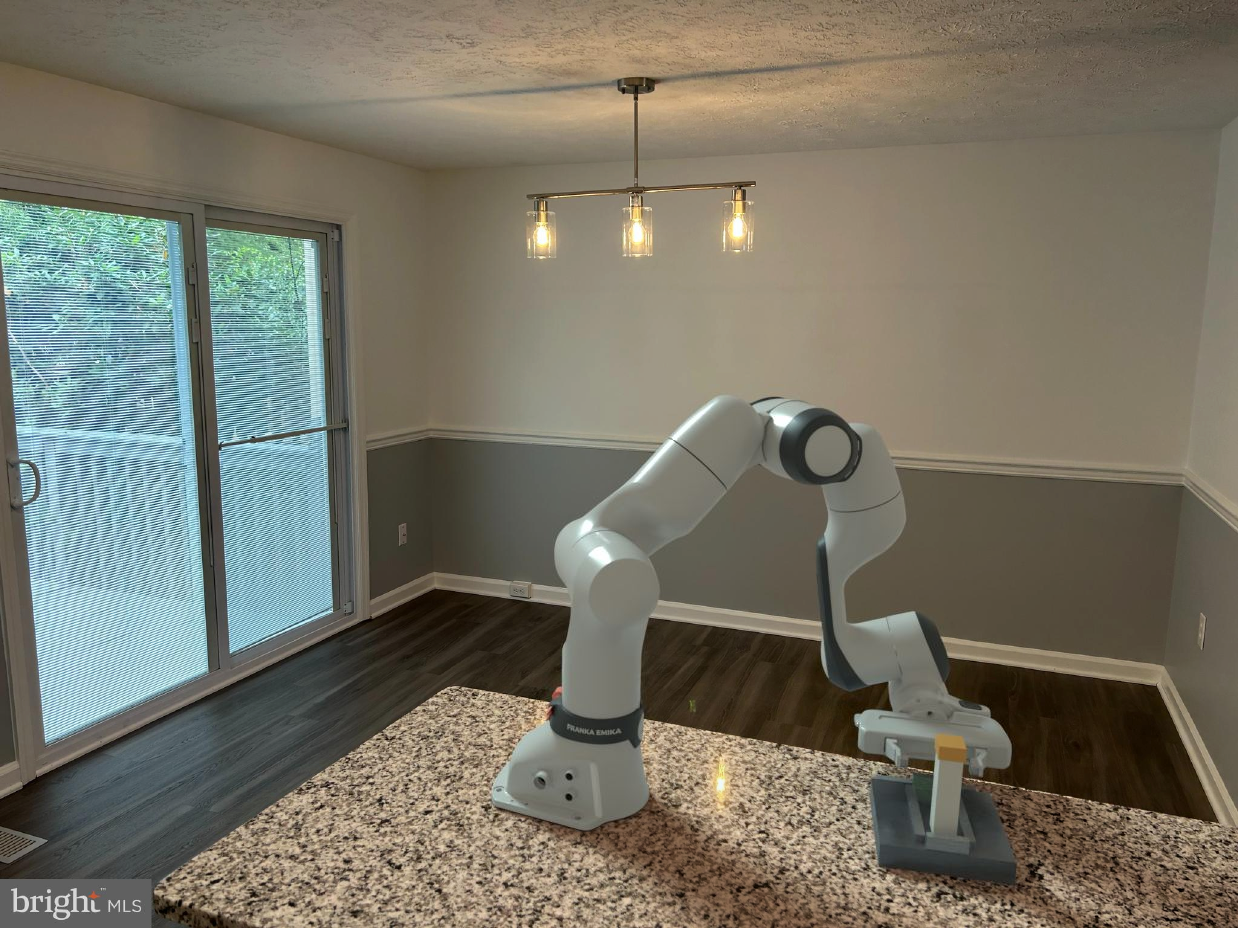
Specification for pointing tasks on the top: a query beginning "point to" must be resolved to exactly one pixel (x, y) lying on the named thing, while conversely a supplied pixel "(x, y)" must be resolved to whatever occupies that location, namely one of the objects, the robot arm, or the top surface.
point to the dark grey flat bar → (911, 781)
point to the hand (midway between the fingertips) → (939, 766)
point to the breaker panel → (918, 849)
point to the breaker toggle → (947, 783)
